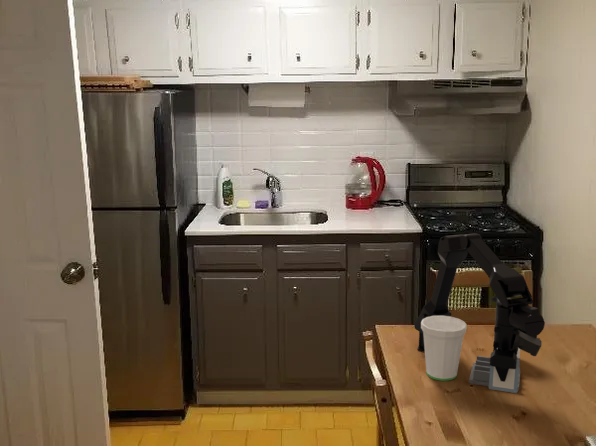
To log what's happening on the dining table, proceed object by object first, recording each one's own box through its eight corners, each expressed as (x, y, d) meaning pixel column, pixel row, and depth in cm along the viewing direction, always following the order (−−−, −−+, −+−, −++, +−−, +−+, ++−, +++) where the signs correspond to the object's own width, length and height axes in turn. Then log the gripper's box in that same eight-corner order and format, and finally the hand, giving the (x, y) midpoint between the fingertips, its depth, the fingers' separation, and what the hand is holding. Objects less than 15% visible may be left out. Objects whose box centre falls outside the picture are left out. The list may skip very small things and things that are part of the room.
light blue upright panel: (488, 388, 167) (490, 356, 165) (489, 386, 169) (491, 354, 167) (517, 393, 165) (519, 360, 163) (517, 390, 166) (519, 357, 165)
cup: (427, 361, 191) (429, 312, 187) (469, 370, 184) (472, 320, 181) (412, 377, 180) (414, 326, 177) (456, 388, 174) (459, 334, 171)
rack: (468, 383, 177) (469, 371, 176) (473, 365, 188) (473, 354, 187) (518, 390, 172) (519, 378, 171) (520, 372, 183) (521, 360, 182)
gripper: (540, 340, 152) (535, 401, 155) (541, 314, 169) (536, 369, 172) (491, 334, 156) (487, 393, 159) (496, 309, 173) (493, 363, 176)
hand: (503, 379), depth 166 cm, fingers closed on light blue upright panel, 2 cm apart
